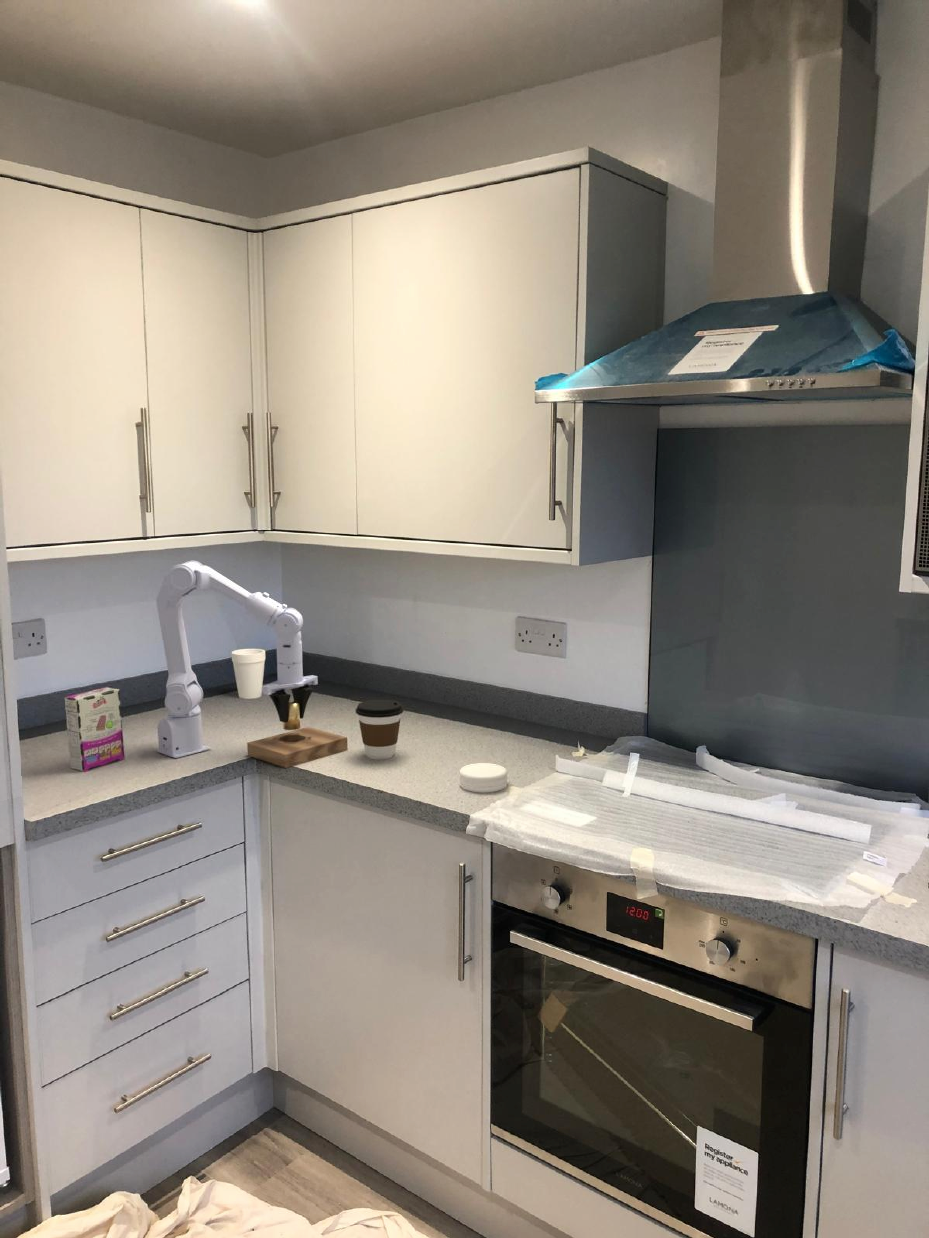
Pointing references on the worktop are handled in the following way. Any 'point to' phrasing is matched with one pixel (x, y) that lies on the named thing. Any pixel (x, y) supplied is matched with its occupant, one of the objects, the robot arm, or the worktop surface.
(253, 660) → the foam cup
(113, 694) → the candy bar box
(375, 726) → the coffee cup
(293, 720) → the bushing
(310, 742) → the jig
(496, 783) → the white round disc
